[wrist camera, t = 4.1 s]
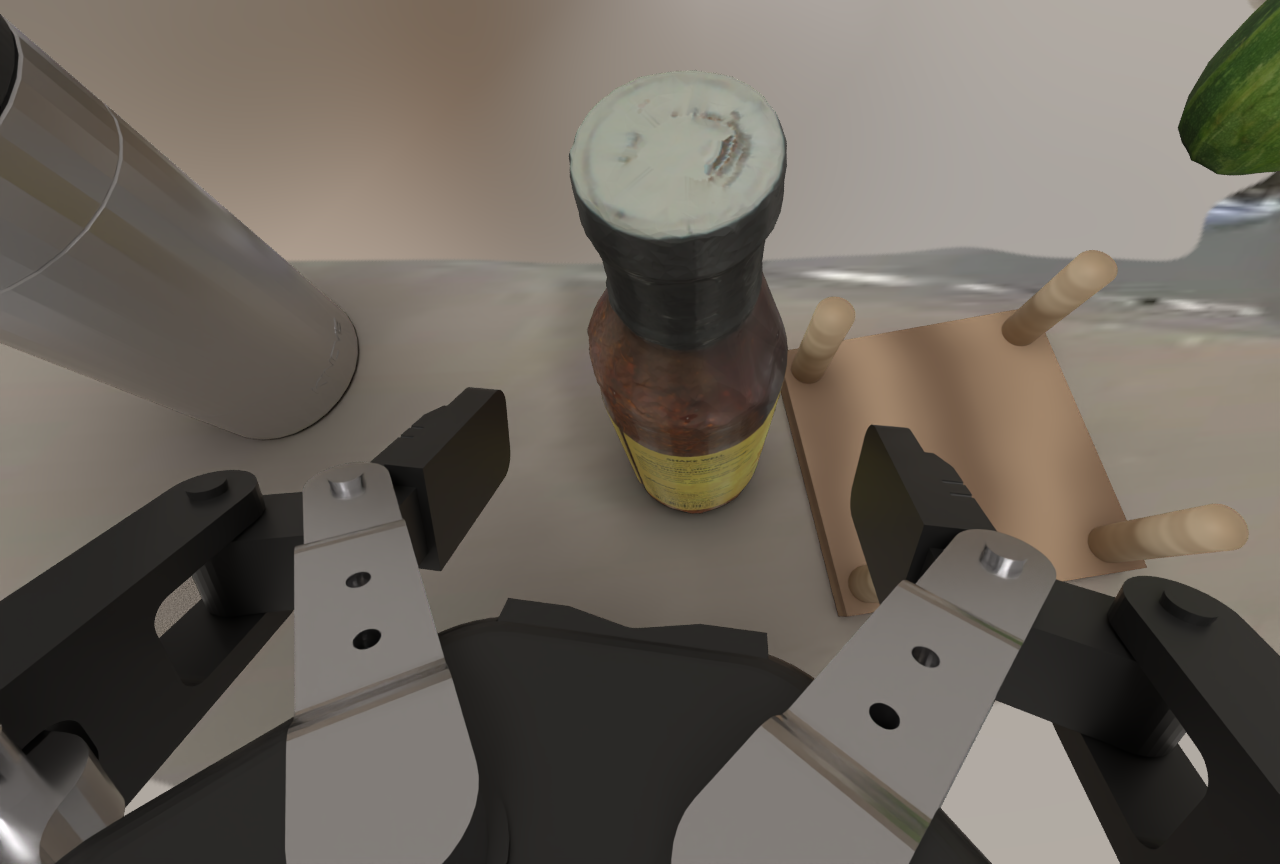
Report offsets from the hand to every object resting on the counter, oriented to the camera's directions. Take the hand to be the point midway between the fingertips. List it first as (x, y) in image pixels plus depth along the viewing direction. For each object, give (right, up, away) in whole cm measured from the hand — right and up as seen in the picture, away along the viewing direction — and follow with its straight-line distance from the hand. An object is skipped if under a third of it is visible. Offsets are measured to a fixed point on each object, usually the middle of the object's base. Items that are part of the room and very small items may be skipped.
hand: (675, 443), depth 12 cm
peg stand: (+14, -1, +15) cm, 21 cm away
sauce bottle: (+2, -1, +16) cm, 17 cm away
